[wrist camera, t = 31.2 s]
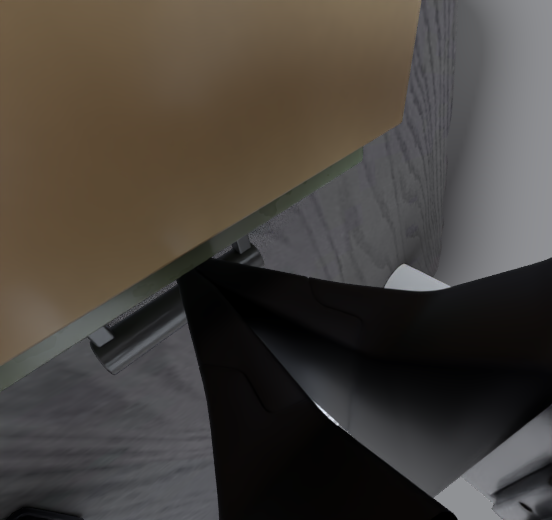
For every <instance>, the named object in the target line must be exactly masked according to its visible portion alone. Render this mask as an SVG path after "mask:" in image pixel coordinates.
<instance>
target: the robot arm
mask: <svg viewBox="0 0 552 520" xmlns="http://www.w3.org/2000/svg"><path fill="white" fill-rule="evenodd" d="M177 283H178V287H179V291H180V295H181V299H182V303H183V307H184V311H185V314H186V318H187V322H188V326H189V330H190V334H191V338H192V342H193V345H194V349H195V353H196V357H197V361H198V365H199V366H200V367H199V370H200V373H201V377H202V381H203V386H204V390H205V395H206V400H207V406H208V413H209V420H210V427H211V436H212V446H213V456H214V466H215V475H216V485H217V495H218V508H219V520H458V519H457V517H456V516H455V515H454V514H453V513H452V512H451V511H449V510H448V509H447V508H445V507H444V506H443V505H441V504H440V503H439V502H437V501H436V500H435V499H434V497H435V496H436V495H438V494H439V493H440V492H441V491H443V490H444V489H445V488H446V487H448V486H449V485H450V484H451V483H453V482H454V481H455V480H457V479H458V478H459V477H460V476H461V477H462V478H464V479H465V480H466V481H467V482H468V483H470V484H471V485H472V486H473V487H474V488H475V489H477V490H478V491H479V492H480V493H482V494H483V495H484V496H485V497H486V498H487V499H489V500H490V501H491V502H492V503H493V504H494V505H493V507H492V510H493V511H494V512H495V513H496V514H497V515H498V516H499V517H501V518H502V519H503V520H552V258H549V259H547V260H544V261H541V262H538V263H535V264H532V265H528V266H524V267H521V268H518V269H514V270H510V271H506V272H503V273H500V274H496V275H492V276H489V277H485V278H482V279H478V280H474V281H471V282H467V283H463V284H460V285H457V286H453V287H449V288H445V289H441V290H433V291H409V290H400V289H390V288H380V287H371V286H361V285H353V284H345V283H338V282H333V281H327V280H321V279H316V278H311V277H309V278H307V277H306V276H301V275H296V274H291V273H285V272H280V271H275V270H270V269H265V268H260V267H255V266H250V265H245V264H240V263H235V262H230V261H225V260H220V259H215V258H209V259H208V260H206V261H205V262H203V263H202V264H200V265H198V266H197V267H195V268H194V269H192V270H191V271H189V272H187V273H186V274H184V275H183V276H181V277H180V278H178V279H177ZM309 397H310V398H311V399H312V400H313V401H314V402H316V403H317V404H318V405H319V406H320V407H321V408H322V409H323V410H324V411H325V412H327V413H328V414H329V415H330V416H331V417H332V418H333V419H334V420H335V421H336V422H338V423H339V424H340V425H341V426H342V427H343V428H344V429H345V430H347V431H348V432H349V433H350V434H351V435H352V436H353V437H354V438H353V437H352V436H351V435H350V434H348V433H347V432H346V431H344V430H343V429H341V428H340V427H339V426H338V425H336V424H335V423H334V422H333V421H332V420H330V419H329V418H328V417H327V416H326V415H325V414H324V413H323V412H322V411H321V410H320V409H319V407H318V406H317V405H316V404H315V403H314V402H313V401H312V400H311V399H310V398H309ZM6 520H84V519H83V518H80V517H75V516H70V515H65V514H60V513H55V512H50V511H45V510H40V509H35V508H30V507H25V508H22V509H20V510H18V511H16V512H15V513H14V514H12V515H11V516H10V517H9V518H7V519H6Z"/></svg>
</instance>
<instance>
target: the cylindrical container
mask: <svg viewBox="0 0 552 520" xmlns="http://www.w3.org/2000/svg"><path fill="white" fill-rule="evenodd" d="M449 287H450V286H449V285H446V284H445V283H442V282H440V281H438V280H436V279H434V278H432V277H430V276H428V275H426V274H424V273H422V272H420V271H418V270H416V269H414V268H412V267H410V266H408V265H406V264H402V265H401V266H399V267H398V268H397V269H396V270H395V271H394V273H393V274H392V275H391V277H390V278H389V280H388V281H387V283H386V285H385V287H384V288H390V289H400V290H409V291H433V290H441V289H445V288H449Z"/></svg>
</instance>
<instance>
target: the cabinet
mask: <svg viewBox="0 0 552 520" xmlns="http://www.w3.org/2000/svg"><path fill="white" fill-rule="evenodd" d="M420 6H421V0H0V366H2V365H3V364H5V363H7V362H8V361H10V360H12V359H13V358H15V357H17V356H18V355H20V354H22V353H23V352H25V351H27V350H28V349H30V348H31V347H33V346H35V345H36V344H38V343H40V342H41V341H43V340H45V339H46V338H48V337H50V336H51V335H53V334H55V333H56V332H58V331H59V330H61V329H63V328H64V327H66V326H68V325H69V324H71V323H73V322H74V321H76V320H78V319H79V318H81V317H83V316H84V315H86V314H87V313H89V312H91V311H92V310H94V309H96V308H97V307H99V306H101V305H102V304H104V303H106V302H107V301H109V300H111V299H112V298H114V297H115V296H117V295H119V294H120V293H122V292H124V291H125V290H127V289H129V288H130V287H132V286H134V285H135V284H137V283H139V282H140V281H142V280H144V279H145V278H147V277H148V276H150V275H152V274H153V273H155V272H157V271H158V270H160V269H162V268H163V267H165V266H167V265H168V264H170V263H172V262H173V261H175V260H176V259H178V258H180V257H181V256H183V255H185V254H186V253H188V252H190V251H191V250H193V249H195V248H196V247H198V246H200V245H201V244H203V243H204V242H206V241H208V240H209V239H211V238H213V237H214V236H216V235H218V234H219V233H221V232H223V231H224V230H226V229H228V228H229V227H231V226H232V225H234V224H236V223H237V222H239V221H241V220H242V219H244V218H246V217H247V216H249V215H251V214H252V213H254V212H256V211H257V210H259V209H260V208H262V207H264V206H265V205H267V204H269V203H270V202H272V201H274V200H275V199H277V198H279V197H280V196H282V195H284V194H285V193H287V192H289V191H290V190H292V189H293V188H295V187H297V186H298V185H300V184H302V183H303V182H305V181H307V180H308V179H310V178H312V177H313V176H315V175H317V174H318V173H320V172H321V171H323V170H325V169H326V168H328V167H330V166H331V165H333V164H335V163H336V162H338V161H340V160H341V159H343V158H345V157H346V156H348V155H349V154H351V153H353V152H354V151H356V150H358V149H359V148H361V147H363V146H364V145H366V144H368V143H369V142H371V141H373V140H374V139H376V138H377V137H379V136H381V135H382V134H384V133H386V132H387V131H389V130H391V129H392V128H394V127H396V126H397V125H399V124H401V122H402V119H403V113H404V106H405V100H406V94H407V88H408V81H409V75H410V69H411V63H412V56H413V50H414V44H415V38H416V31H417V25H418V19H419V13H420Z"/></svg>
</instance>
